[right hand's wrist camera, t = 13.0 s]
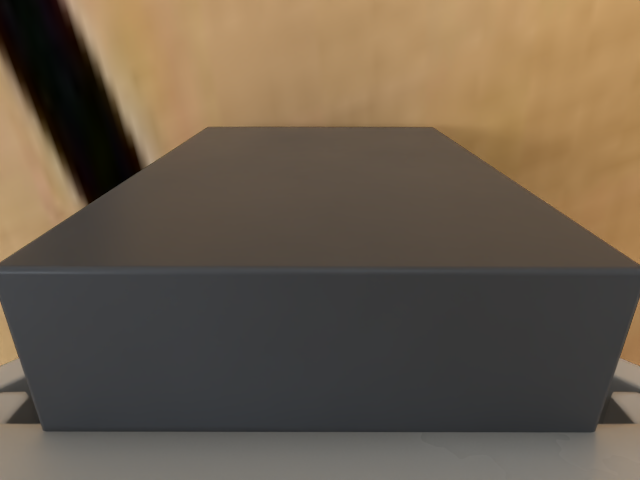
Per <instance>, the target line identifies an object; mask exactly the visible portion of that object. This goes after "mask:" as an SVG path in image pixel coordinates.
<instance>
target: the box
mask: <svg viewBox="0 0 640 480" xmlns="http://www.w3.org/2000/svg"><path fill="white" fill-rule="evenodd" d="M639 298H640V265H639V264H638V263H636V262H635V261H633V260H632V259H630V258H629V257H627V256H626V255H624V254H623V253H621V252H620V251H618V250H617V249H615V248H614V247H612V246H611V245H609V244H608V243H606V242H605V241H603V240H602V239H600V238H599V237H597V236H596V235H594V234H592V233H591V232H589V231H588V230H586V229H585V228H583V227H582V226H580V225H579V224H577V223H576V222H574V221H573V220H571V219H570V218H568V217H567V216H565V215H564V214H562V213H561V212H559V211H558V210H556V209H555V208H553V207H552V206H550V205H549V204H547V203H546V202H544V201H543V200H541V199H540V198H538V197H537V196H535V195H534V194H532V193H531V192H529V191H528V190H526V189H525V188H523V187H522V186H520V185H519V184H517V183H516V182H514V181H513V180H511V179H510V178H508V177H507V176H505V175H504V174H502V173H501V172H499V171H498V170H496V169H495V168H493V167H492V166H490V165H489V164H487V163H486V162H484V161H483V160H481V159H480V158H478V157H477V156H475V155H474V154H472V153H471V152H469V151H468V150H466V149H465V148H463V147H462V146H460V145H459V144H457V143H456V142H454V141H453V140H451V139H450V138H448V137H447V136H445V135H444V134H442V133H441V132H439V131H438V130H436V129H435V128H433V127H207V128H206V129H204V130H202V131H201V132H199V133H198V134H196V135H195V136H193V137H192V138H190V139H189V140H187V141H186V142H184V143H183V144H181V145H179V146H178V147H176V148H175V149H173V150H172V151H170V152H169V153H167V154H166V155H164V156H163V157H161V158H159V159H158V160H156V161H155V162H153V163H152V164H150V165H149V166H147V167H146V168H144V169H143V170H141V171H140V172H138V173H136V174H135V175H133V176H132V177H130V178H129V179H127V180H126V181H124V182H123V183H121V184H120V185H118V186H117V187H115V188H113V189H112V190H110V191H109V192H107V193H106V194H104V195H103V196H101V197H100V198H98V199H97V200H95V201H93V202H92V203H90V204H89V205H87V206H86V207H84V208H83V209H81V210H80V211H78V212H77V213H75V214H74V215H72V216H70V217H69V218H67V219H66V220H64V221H63V222H61V223H60V224H58V225H57V226H55V227H54V228H52V229H51V230H49V231H47V232H46V233H44V234H43V235H41V236H40V237H38V238H37V239H35V240H34V241H32V242H31V243H29V244H27V245H26V246H24V247H23V248H21V249H20V250H18V251H17V252H15V253H14V254H12V255H11V256H9V257H8V258H6V259H4V260H3V261H1V262H0V302H1V305H2V308H3V311H4V314H5V317H6V320H7V323H8V326H9V329H10V332H11V335H12V338H13V341H14V344H15V347H16V350H17V353H18V356H19V359H20V363H21V366H22V369H23V372H24V375H25V378H26V381H27V384H28V387H29V390H30V393H31V396H32V399H33V402H34V405H35V408H36V411H37V414H38V417H39V420H40V423H41V426H42V429H43V431H46V432H595V431H596V428H597V425H598V422H599V419H600V416H601V413H602V410H603V406H604V403H605V400H606V397H607V394H608V391H609V388H610V385H611V382H612V379H613V376H614V373H615V370H616V367H617V364H618V361H619V358H620V355H621V352H622V349H623V346H624V343H625V340H626V337H627V334H628V331H629V328H630V325H631V322H632V319H633V316H634V313H635V310H636V307H637V304H638V301H639Z"/></svg>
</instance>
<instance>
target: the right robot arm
mask: <svg viewBox="0 0 640 480" xmlns="http://www.w3.org/2000/svg"><path fill="white" fill-rule="evenodd" d="M0 480H640V366H638V365H636V364H633V363H631V362H629V361H626V360H624V359H622V358H619V361H618V364H617V367H616V370H615V373H614V376H613V379H612V382H611V385H610V388H609V391H608V394H607V397H606V400H605V403H604V406H603V410H602V413H601V416H600V419H599V422H598V425H597V428H596V431H595V432H46V431H43V429H42V426H41V423H40V420H39V417H38V414H37V411H36V408H35V405H34V402H33V399H32V396H31V393H30V390H29V387H28V384H27V381H26V378H25V375H24V372H23V369H22V366H21V363H20V359H19V358H18V359H15V360H13V361H11V362H8V363H6V364H4V365H1V366H0Z"/></svg>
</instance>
